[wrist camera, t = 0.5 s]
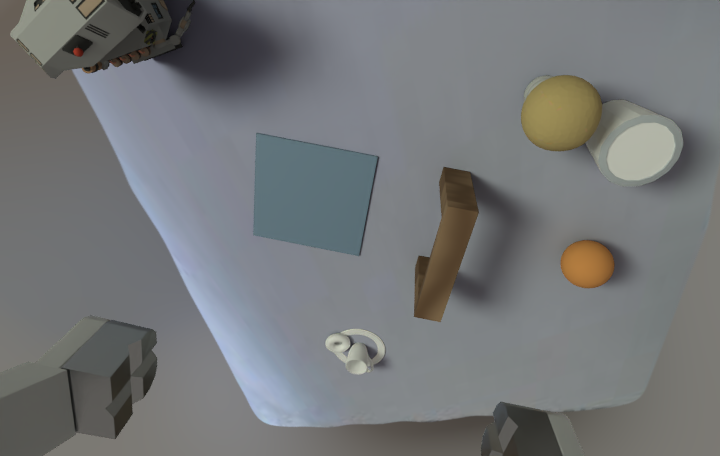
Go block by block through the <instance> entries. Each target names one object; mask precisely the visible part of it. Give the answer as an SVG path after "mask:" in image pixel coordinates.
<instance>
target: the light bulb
mask: <svg viewBox="0 0 720 456" xmlns="http://www.w3.org/2000/svg"><path fill="white" fill-rule="evenodd" d="M601 115H602V102H601V98H600V95H599V94H598V92H597V90H596V89H595V88H594V87H593V86H592V85H591V84H590V83H589V82H587V81H586V80H584V79H582V78H579V77H576V76H570V75H562V76H555V77H553V76H549V75H546V76H541V77H538V78H536V79H534V80H533V81H532V82H531V83H530V84H529V85H528V86H527V88H526V90H525V93H524V104H523V108H522V112H521V123H522V127H523V130H524V132H525V134H526V136H527V137H528V139H529V140H530V141H531V142H532V143H533V144H535V145H536V146H538V147H540V148H543V149H545V150H550V151H566V150H571V149H574V148H577V147H579V146H581V145H583V144H584V143H585V142H587V141H588V140H589V139H590V138H591V136H592V135H593V134H594V132H595V131H596V129H597V127H598V125H599V122H600V119H601Z"/></svg>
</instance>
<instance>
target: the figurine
mask: <svg viewBox="0 0 720 456" xmlns="http://www.w3.org/2000/svg"><path fill="white" fill-rule="evenodd" d="M194 4H195V1H194V0H193V2H192V3H191V5H190V6H189V7H188V8H187V12H186V15H185V16H184V17H182V19H181V20H180V22H179V25H178V30H177V31H176V33H175V35H172V36H171V37H170V38H167V35H168V31H169V28H170V25H171V21H172V20H171V17H170V15H169V13H168V9H167V7H166V5H165V3H164V1H163V0H27V1H26V4H25V7H24V10H23V13H22V16H21V19H20V22H19V23H18V25H17V26H16V27H15V28H14V29H13V30H12V31H11V37H12V38H13V39H14V40H15V41H16V42H17V43H18V44H19V45H20V46H21V47H22V48H23V49H24V50H25V51H26V52H27V53H28V55H29V56H30V57H31V58H32V59H33V60H34V61H35V62H36V63H37V64H38V65H39V66H40V67H41V68H42V69H43V70H44V71H45V72H46V73H47V74H48V75H49V76H50V77H51V78H55V79H56V78H57V77H58V76H59V75H60V74H61V73H62V72H63V71H64V70H71V69H78V68H82V70H83V71H84V72H85V73H93V72H96V71H98V70H100V69H103V70H105V69H108V67H109V63H112V64H113V65H114V66H115V67H119V66H121V65H122V64H123V62H124V63H126V64H127V63H129V62H131V61H133V63H134V64H135V63H138V62H141V61H143V60H144V61H145V60H148V59H151V58H154V57H157V56H159V55H162V54H165V53H168V52H170V51H173V50H176V49H179V48H181V47H183V46H182V44H181V39H180V37H181V36H182V35H183V33H184V32H185V31H186V30H187V29H188V27H189V25H190V23H191V20H189V18H190V16H191V14H192V13H190V12H191V10H192V9H191V8H192V7H193V5H194ZM166 38H167V39H166ZM111 60H112V61H111Z"/></svg>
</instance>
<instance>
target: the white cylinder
mask: <svg viewBox="0 0 720 456" xmlns="http://www.w3.org/2000/svg"><path fill="white" fill-rule="evenodd" d="M585 144H586V145H587V147H588V149H589V151H590V153H591V155H592V156H593V158H594V160H595V162H596V164H597V166H598V167H599V169H600V171H601V173H602V174H603V175H604V176H605V177H606V178H607V179H608V180H609V181H610V182H612V183H615V184H618V185H620V186H641V185H644V184H647V183H650V182H653V181H655V180H657V179H658V178H660V177H661V176H663V175H664V174H665V173H667V172H668V171H669V170H670V169H671V168H672V166H673V165H674V164H675V163H676V161H677V160H678V159H679V156H680V153H681V150H682V147H683V138H682V132H681V130H680V129H679V127H678V126H677V125H676V124H675V123H674V121H673V120H671V119H668V118H666V117H664V116H661V115H659V114H657V113H655V112H652V111H650V110H648V109H645V108H643V107H641V106H638V105H636V104H634V103H631V102H629V101H626V100H611V101H609V102H606V103H604V104H602V115H601V119H600V122H599V125H598V127H597V129H596V131H595V132H594V134H593V135H592V136H591V138H590V139H589V140H588V141H587V142H585Z"/></svg>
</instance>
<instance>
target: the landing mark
mask: <svg viewBox="0 0 720 456" xmlns="http://www.w3.org/2000/svg"><path fill="white" fill-rule="evenodd" d="M377 158H378V156H374V155H369V154H363V153H358V152H353V151H348V150H343V149H338V148H332V147H327V146H322V145H317V144H312V143H306V142H301V141H296V140H291V139H286V138H281V137H275V136H270V135H265V134H260V133H256V160H255V195H254V231H253V235H255V236H260V237H266V238H271V239H276V240H281V241H286V242H291V243H296V244H301V245H306V246H311V247H316V248H321V249H326V250H331V251H336V252H341V253H346V254H351V255H356V256H359V252H360V247H361V242H362V237H363V231H364V226H365V221H366V216H367V210H368V205H369V200H370V194H371V189H372V184H373V179H374V173H375V168H376V163H377Z"/></svg>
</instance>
